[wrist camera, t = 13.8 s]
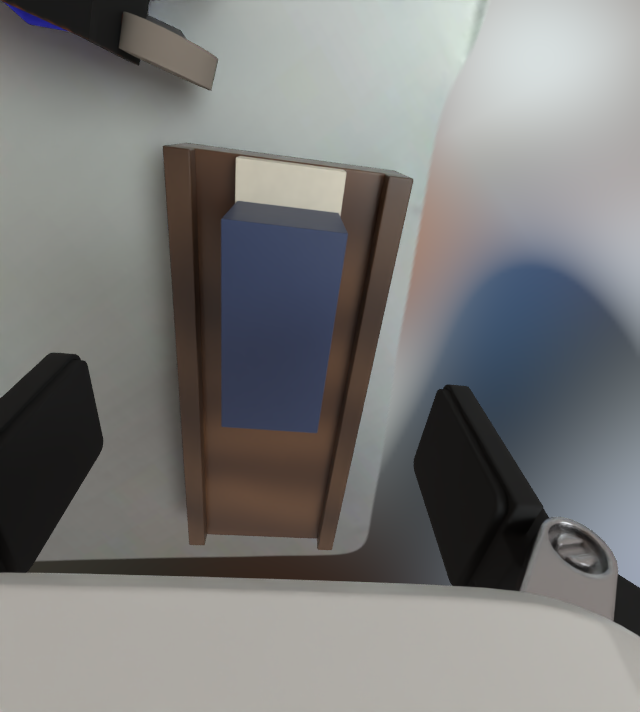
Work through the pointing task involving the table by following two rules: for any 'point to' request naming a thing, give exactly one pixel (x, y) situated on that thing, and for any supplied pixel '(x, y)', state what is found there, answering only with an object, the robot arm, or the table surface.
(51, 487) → the robot arm
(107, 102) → the table surface
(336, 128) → the table surface
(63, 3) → the figurine character
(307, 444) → the brown wooden tray
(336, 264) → the blue milk carton
